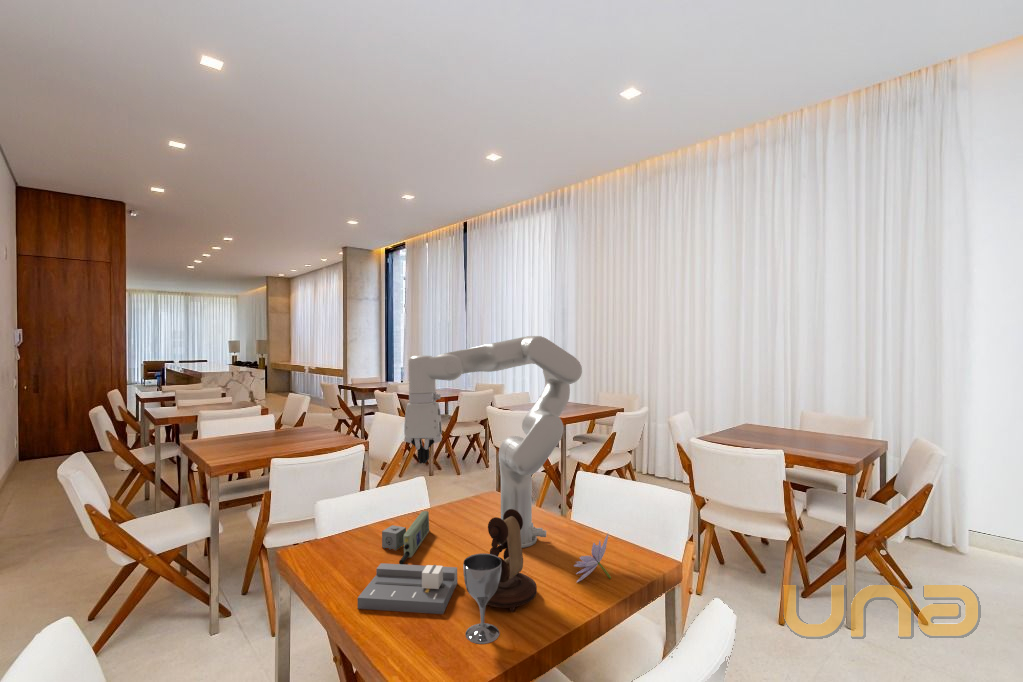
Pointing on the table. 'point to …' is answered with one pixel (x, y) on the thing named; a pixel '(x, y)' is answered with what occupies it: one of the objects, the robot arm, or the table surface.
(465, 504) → the table surface
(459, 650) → the table surface
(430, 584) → the fader knob
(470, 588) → the wine glass
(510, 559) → the scroll
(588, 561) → the water lily
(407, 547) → the handheld radio
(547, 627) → the table surface
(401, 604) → the console
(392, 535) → the dice cube
